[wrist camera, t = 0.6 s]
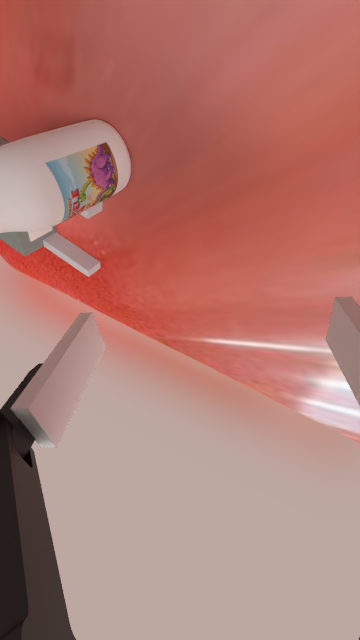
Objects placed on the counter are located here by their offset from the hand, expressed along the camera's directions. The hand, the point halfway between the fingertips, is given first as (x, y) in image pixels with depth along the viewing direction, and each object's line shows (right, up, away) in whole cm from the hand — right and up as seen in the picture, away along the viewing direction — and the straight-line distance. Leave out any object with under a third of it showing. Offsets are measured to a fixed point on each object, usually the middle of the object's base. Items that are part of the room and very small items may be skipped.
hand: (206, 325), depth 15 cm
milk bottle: (-10, +20, +18) cm, 29 cm away
